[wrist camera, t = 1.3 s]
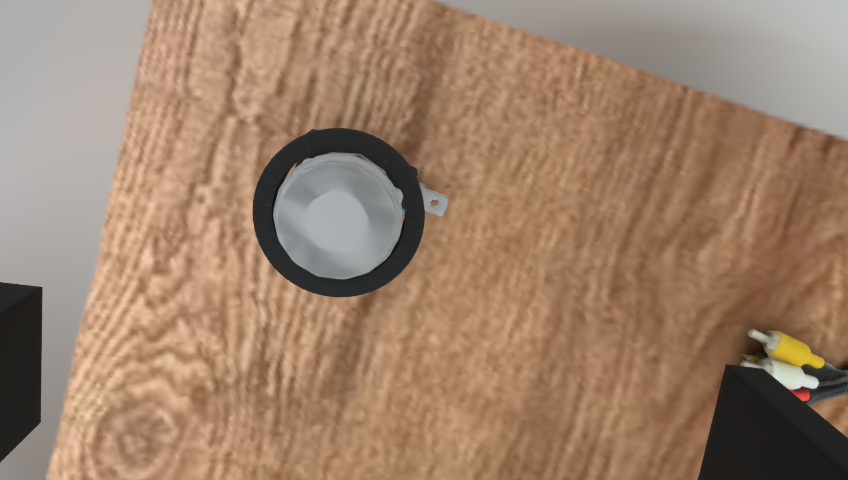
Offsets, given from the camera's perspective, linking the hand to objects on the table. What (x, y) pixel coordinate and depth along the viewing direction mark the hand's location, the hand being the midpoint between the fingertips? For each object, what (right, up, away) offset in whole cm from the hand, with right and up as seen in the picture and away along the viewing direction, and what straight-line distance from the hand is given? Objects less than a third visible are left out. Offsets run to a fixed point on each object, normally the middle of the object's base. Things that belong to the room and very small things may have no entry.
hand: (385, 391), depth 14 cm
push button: (-2, +6, +18) cm, 19 cm away
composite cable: (+19, -3, +20) cm, 28 cm away
